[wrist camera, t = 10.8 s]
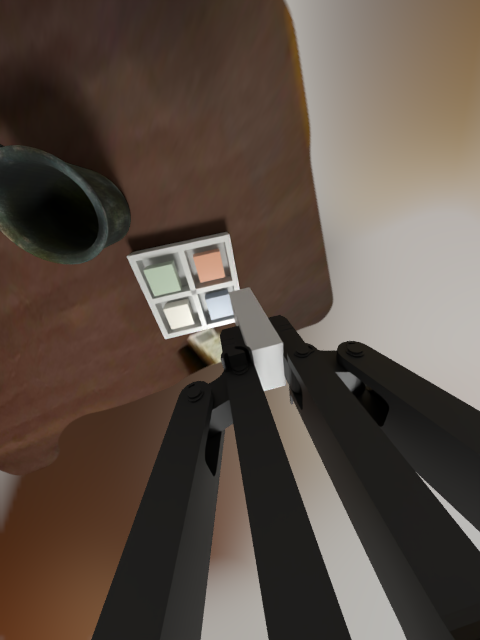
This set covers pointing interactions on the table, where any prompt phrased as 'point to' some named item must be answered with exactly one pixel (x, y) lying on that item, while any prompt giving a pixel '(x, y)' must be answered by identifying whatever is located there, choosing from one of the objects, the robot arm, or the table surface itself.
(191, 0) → the table surface
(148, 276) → the key sage
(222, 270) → the key terracotta
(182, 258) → the frame
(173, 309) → the key ivory
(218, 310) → the key slate
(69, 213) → the mug
